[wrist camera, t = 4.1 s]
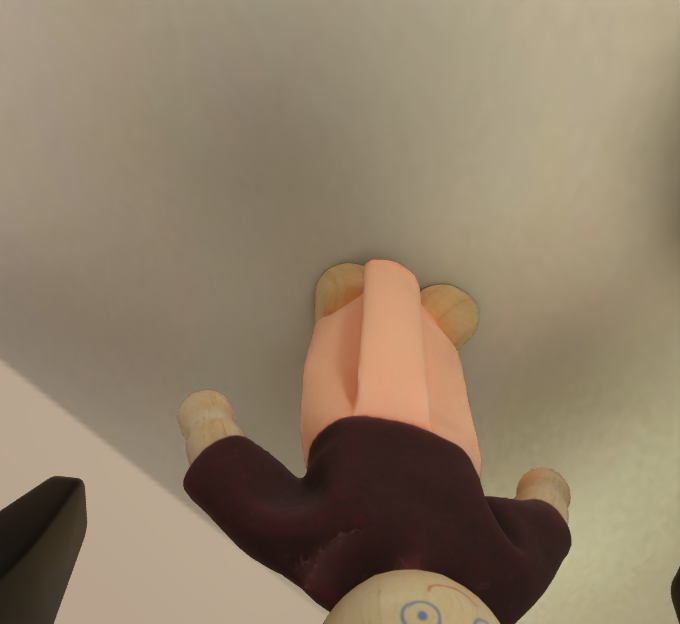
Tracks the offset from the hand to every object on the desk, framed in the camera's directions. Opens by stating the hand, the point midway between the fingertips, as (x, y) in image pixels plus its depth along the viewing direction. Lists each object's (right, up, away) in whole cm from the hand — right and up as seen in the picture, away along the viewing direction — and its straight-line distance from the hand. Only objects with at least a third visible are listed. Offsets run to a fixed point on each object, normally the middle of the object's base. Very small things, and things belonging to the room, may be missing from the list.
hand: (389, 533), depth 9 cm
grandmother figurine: (0, +3, +8) cm, 9 cm away
